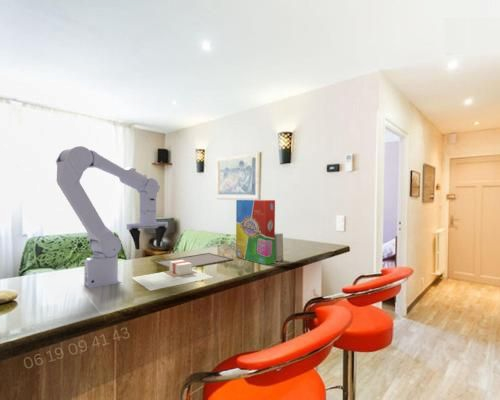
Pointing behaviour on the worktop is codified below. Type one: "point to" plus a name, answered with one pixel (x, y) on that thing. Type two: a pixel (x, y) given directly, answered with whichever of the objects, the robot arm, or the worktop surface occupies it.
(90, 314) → the worktop surface
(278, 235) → the skincare box
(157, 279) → the mat
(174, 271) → the card box
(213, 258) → the picture frame
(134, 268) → the worktop surface
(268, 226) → the game box
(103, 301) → the worktop surface
